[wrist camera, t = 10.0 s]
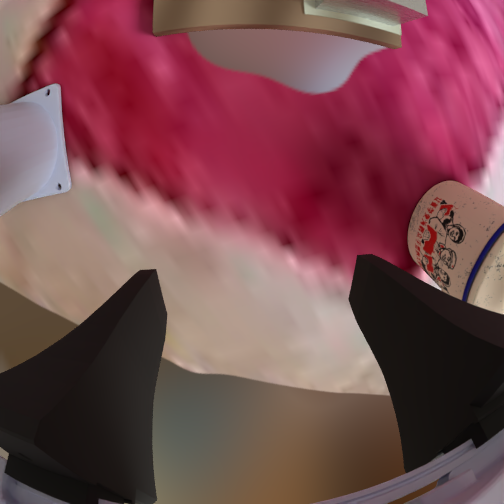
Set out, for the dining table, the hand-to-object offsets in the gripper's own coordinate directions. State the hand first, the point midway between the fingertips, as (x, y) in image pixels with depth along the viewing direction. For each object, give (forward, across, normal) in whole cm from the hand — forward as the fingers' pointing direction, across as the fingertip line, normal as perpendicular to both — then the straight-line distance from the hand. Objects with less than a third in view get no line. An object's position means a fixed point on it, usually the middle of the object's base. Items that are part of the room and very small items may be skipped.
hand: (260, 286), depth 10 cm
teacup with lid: (+10, -18, +4) cm, 21 cm away
